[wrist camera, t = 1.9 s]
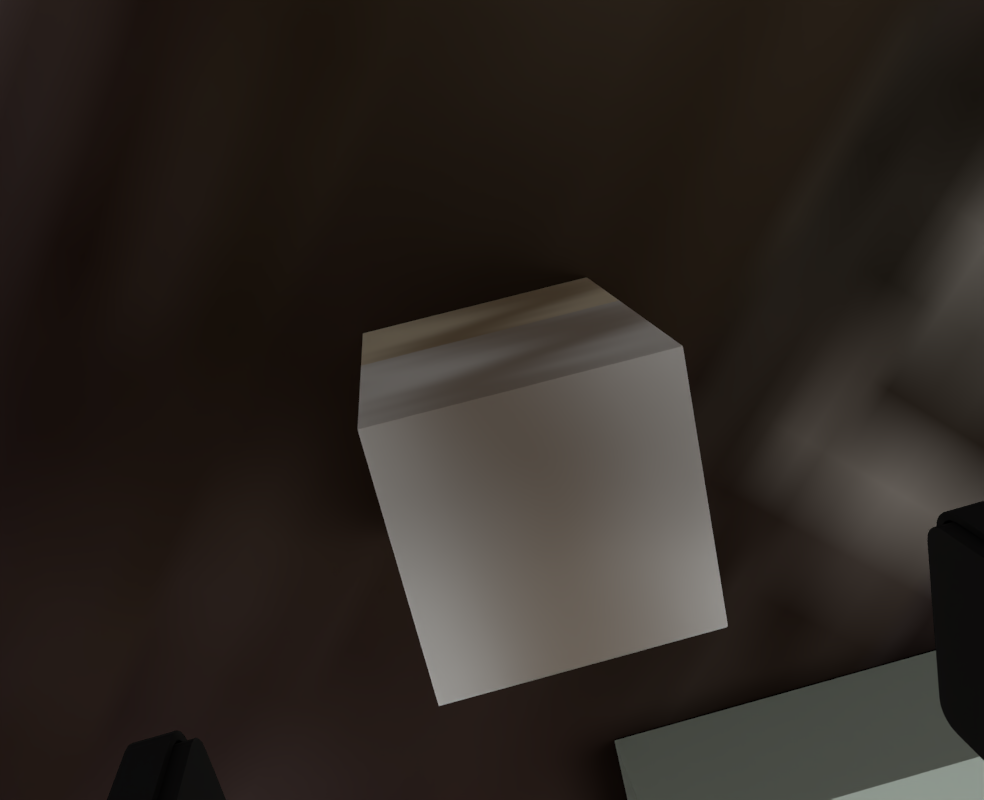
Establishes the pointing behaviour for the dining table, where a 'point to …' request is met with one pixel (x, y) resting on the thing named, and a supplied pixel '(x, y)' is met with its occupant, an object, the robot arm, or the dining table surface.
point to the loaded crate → (539, 485)
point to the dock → (814, 745)
